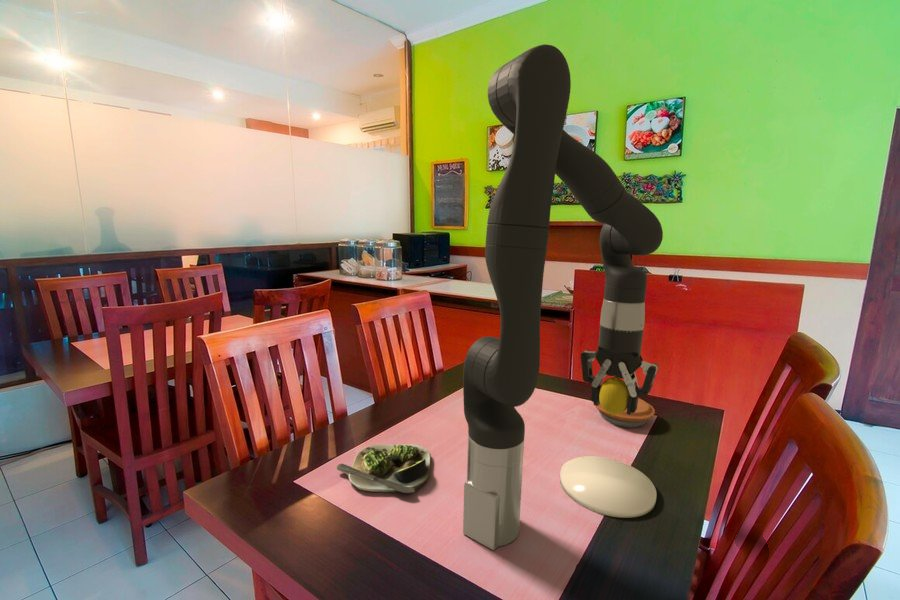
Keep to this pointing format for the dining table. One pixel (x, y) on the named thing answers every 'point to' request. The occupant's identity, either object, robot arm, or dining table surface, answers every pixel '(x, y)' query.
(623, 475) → the saucer
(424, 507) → the dining table surface
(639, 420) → the pie
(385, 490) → the salad plate
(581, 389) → the dining table surface
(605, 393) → the lemon
